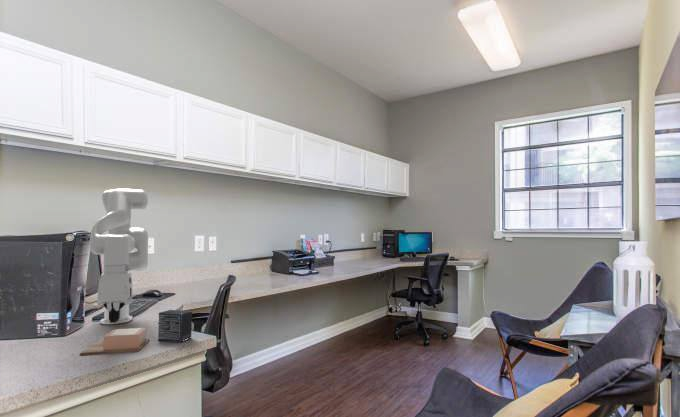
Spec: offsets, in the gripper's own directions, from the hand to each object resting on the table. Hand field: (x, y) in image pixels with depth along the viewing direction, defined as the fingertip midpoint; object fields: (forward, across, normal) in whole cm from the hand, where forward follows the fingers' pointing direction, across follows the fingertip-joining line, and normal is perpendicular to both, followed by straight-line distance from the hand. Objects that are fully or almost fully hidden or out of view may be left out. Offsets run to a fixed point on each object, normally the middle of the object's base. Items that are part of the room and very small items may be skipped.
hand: (114, 321), depth 129 cm
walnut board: (+9, -1, 0) cm, 9 cm away
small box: (+9, -19, -6) cm, 22 cm away
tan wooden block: (+6, +2, 0) cm, 6 cm away
